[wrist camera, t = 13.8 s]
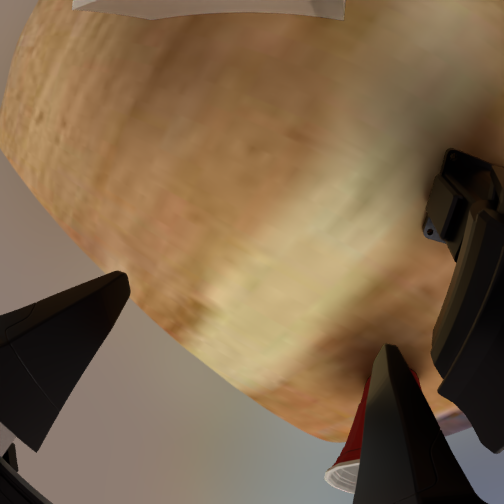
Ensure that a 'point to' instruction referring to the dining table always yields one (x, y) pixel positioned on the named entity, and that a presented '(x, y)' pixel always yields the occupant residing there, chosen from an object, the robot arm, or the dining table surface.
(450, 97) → the dining table surface
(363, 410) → the plastic cup
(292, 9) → the white step stool
